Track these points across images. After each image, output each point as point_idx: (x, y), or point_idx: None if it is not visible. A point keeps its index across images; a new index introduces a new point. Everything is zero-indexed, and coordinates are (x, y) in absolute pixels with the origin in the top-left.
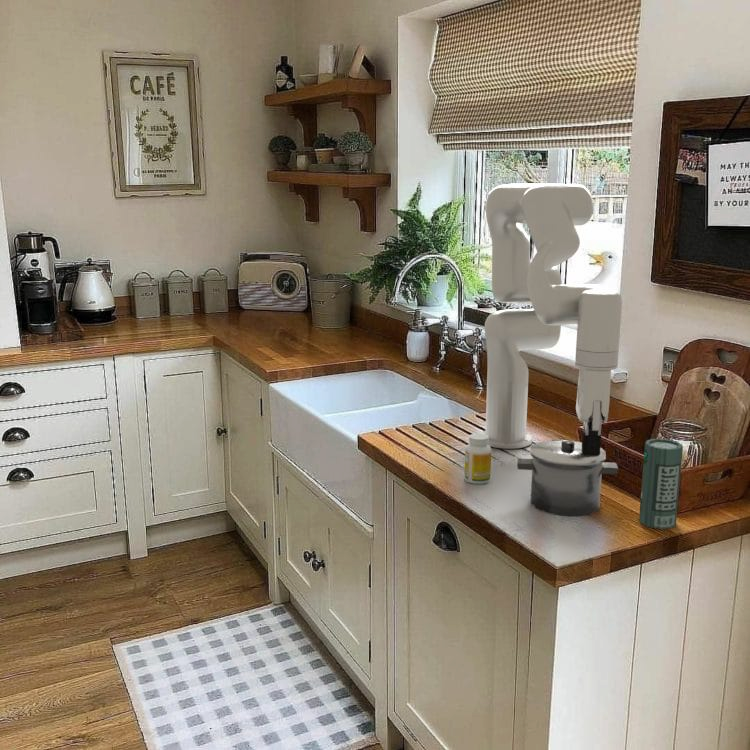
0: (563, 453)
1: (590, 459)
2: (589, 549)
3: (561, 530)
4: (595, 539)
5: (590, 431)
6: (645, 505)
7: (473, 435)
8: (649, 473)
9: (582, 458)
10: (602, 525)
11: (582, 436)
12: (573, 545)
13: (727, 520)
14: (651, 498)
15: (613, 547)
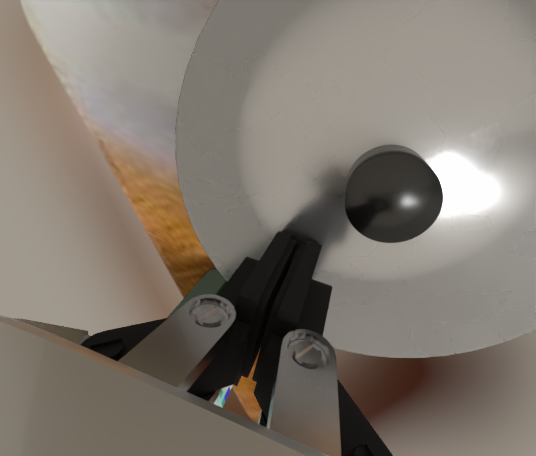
0: (316, 132)
1: (201, 232)
2: (97, 99)
3: (186, 58)
4: (145, 133)
5: (135, 330)
6: (197, 292)
7: None
8: None
9: (215, 202)
10: None
11: (300, 294)
12: (109, 65)
13: (239, 397)
14: (176, 310)
15: (114, 157)
